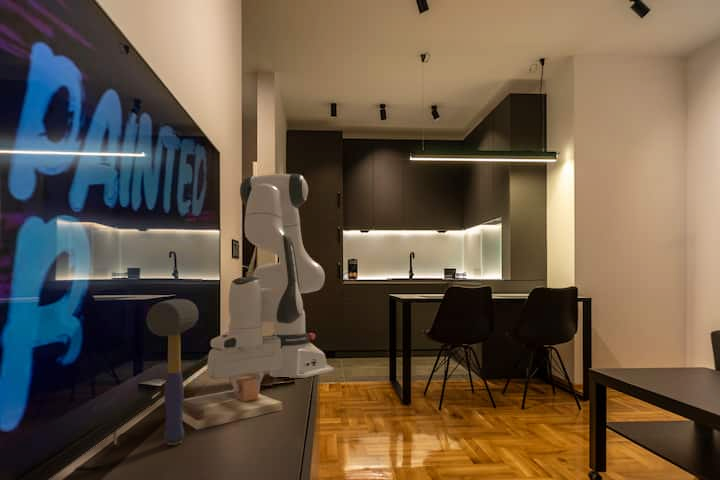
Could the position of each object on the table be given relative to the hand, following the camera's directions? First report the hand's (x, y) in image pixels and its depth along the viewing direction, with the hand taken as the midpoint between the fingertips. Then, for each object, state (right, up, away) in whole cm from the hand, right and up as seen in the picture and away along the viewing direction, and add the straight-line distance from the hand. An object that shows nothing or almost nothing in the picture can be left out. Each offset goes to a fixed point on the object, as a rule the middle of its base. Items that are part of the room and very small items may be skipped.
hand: (246, 390), depth 128 cm
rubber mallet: (-9, -3, -27) cm, 29 cm away
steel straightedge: (-7, -2, -1) cm, 7 cm away
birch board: (-3, -4, -6) cm, 7 cm away
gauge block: (0, -2, 0) cm, 2 cm away
